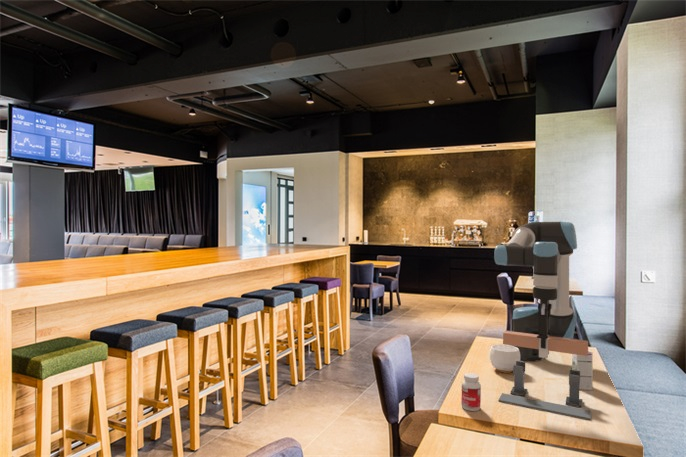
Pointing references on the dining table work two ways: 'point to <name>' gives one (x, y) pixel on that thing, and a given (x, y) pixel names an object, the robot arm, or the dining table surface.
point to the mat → (546, 406)
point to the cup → (504, 357)
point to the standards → (573, 384)
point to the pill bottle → (471, 392)
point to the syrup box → (584, 369)
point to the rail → (553, 343)
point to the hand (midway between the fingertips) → (544, 355)
